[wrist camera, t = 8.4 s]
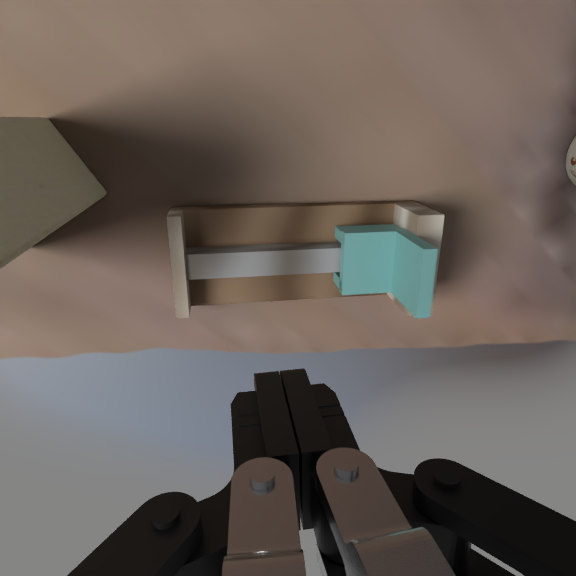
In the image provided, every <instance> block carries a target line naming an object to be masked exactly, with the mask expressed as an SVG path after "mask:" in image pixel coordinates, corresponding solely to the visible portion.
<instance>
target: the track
mask: <svg viewBox="0 0 576 576" xmlns="http://www.w3.org/2000/svg"><path fill="white" fill-rule="evenodd" d="M444 216H445V215H444V214H442V213H440V212H437V211H435V210H433V209H430V208H428V207H426V206H424V205H421V204H419V203H417V202H415V201H412V200H404V201H370V202H336V203H302V204H269V205H235V206H201V207H171V208H170V210H169V212H168V215H167V217H166V218H167V229H168V239H169V249H170V259H171V269H172V280H173V290H174V300H175V310H176V318H189V317H190V309H191V306H195V305H212V304H229V303H246V302H263V301H280V300H297V299H314V298H331V297H348V296H365V295H382V294H387V295H388V296H389V297H390V298H391V299H392V300H393V301H394V302H395V303H396V304H397V305H398V306H399V307H400V308H401V309H402V310H403V311H404V313H405V314H406V315H407V316H408V317H409V316H413V315H412V314H411V313H410V311H409V310H408V309H407V308H406V307H405V306H404V305H403V304H402V303H401V302H400V301H399V300H398V299H397V298H396V297H395V296H394V295H393V294H392V293H373V294H356V295H342V294H341V293H340V291H339V288H338V287H337V285H336V284H335V282H334V281H333V273H334V272H340V256H341V243H340V242H339V241H338V240H337V239H336V238H335V226H355V225H382V224H395V225H396V226H398V227H400V228H405V229H406V230H408V231H409V232H411V233H413V234H414V235H416V236H418V237H419V238H421V239H423V240H424V241H426V242H428V243H429V244H431V245H433V246H434V247H436V248H437V249H438V253H437V261H436V270H435V278H434V286H433V295H432V303H431V311H430V315H432V314H433V306H434V298H435V290H436V281H437V273H438V265H439V257H440V249H441V240H442V232H443V224H444Z"/></svg>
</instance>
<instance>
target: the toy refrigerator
mask: <svg viewBox="0 0 576 576" xmlns="http://www.w3.org/2000/svg"><path fill="white" fill-rule="evenodd" d="M105 195H106V190H105V189H104V188H103V186H102V185H101V184H100V183H99V181H98V180H97V179H96V178H95V176H94V175H93V174H92V173H91V171H90V170H89V169H88V168H87V166H86V165H85V164H84V163H83V161H82V160H81V159H80V158H79V156H78V155H77V154H76V153H75V151H74V150H73V149H72V147H71V146H70V145H69V144H68V143H67V141H66V140H65V139H64V138H63V136H62V135H61V134H60V133H59V131H58V130H57V129H56V128H55V126H54V125H53V124H52V123H51V121H50V120H49V119H47V118H41V117H0V269H1V268H2V267H4V266H5V265H6V264H8V263H9V262H11V261H12V260H14V259H15V258H16V257H18V256H19V255H21V254H22V253H24V252H25V251H27V250H28V249H30V248H31V247H32V246H34V245H35V244H37V243H38V242H40V241H41V240H42V239H44V238H45V237H47V236H48V235H49V234H51V233H52V232H54V231H55V230H57V229H58V228H59V227H61V226H62V225H64V224H65V223H67V222H68V221H70V220H71V219H72V218H74V217H75V216H77V215H78V214H80V213H81V212H83V211H84V210H85V209H87V208H88V207H90V206H91V205H93V204H94V203H96V202H97V201H98V200H100V199H101V198H103V197H104V196H105Z"/></svg>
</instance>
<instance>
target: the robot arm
mask: <svg viewBox="0 0 576 576" xmlns="http://www.w3.org/2000/svg"><path fill="white" fill-rule="evenodd" d="M254 386H255V391H248V392H239V393H237V395H236V396H235V398H234V400H233V401H232V403H231V416H232V433H233V434H232V435H233V454H234V473H233V476H232V479H231V480H230V482H229V483H228V484H227V486H226V487H225V488H224V489H222V490H221V491H220V492H218V493H217V494H215V495H213V496H211V497H209V498H206V499H204V500H201V501H199V502H197V501H196V500H195V499H194V498H193V497H191V496H190V495H188V494H185V493H181V492H168V493H164V494H160V495H158V496H155V497H153V498H151V499H150V500H148V501H147V502H145V503H144V504H143V505H142V506H141V507H139V509H137V510H136V511H135V512H134V513H133V514H132V515H131V516H130V517H129V518H128V519H127V520H126V521H125V522H124V523H123V524H122V525H120V526H119V527H118V528H117V529H116V530H115V531H114V532H113V533H112V534H111V535H110V536H109V537H108V538H107V539H106V540H104V542H102V543H101V544H100V545H99V546H98V547H97V548H96V549H95V550H94V551H93V552H92V553H91V554H90V555H89V556H87V557H86V558H85V559H84V560H83V561H82V562H81V563H80V564H79V565H78V566H77V567H76V568H75V569H74V570H73V571H72V572H71V573H69V574H68V576H306V570H305V561H304V554H303V550H302V549H301V545H300V536H299V530H300V517H301V522H302V527H303V530H304V529H311V528H314V531H315V536H316V540H317V560H318V564H319V567H320V570H321V573H322V576H515V575H514V574H512V573H510V572H509V571H507V570H505V569H504V568H502V567H500V566H499V565H497V564H496V563H494V562H492V561H490V560H489V559H487V558H485V557H484V556H482V555H481V554H479V553H478V552H476V551H474V550H473V549H471V543H472V544H474V545H476V546H477V547H479V548H480V549H482V550H484V551H485V552H487V553H489V554H490V555H492V556H494V557H495V558H497V559H499V560H500V561H502V562H504V563H505V564H507V565H509V566H510V567H512V568H514V569H515V570H517V571H519V572H520V573H522V574H523V575H524V576H576V521H574V520H572V519H570V518H568V517H566V516H564V515H562V514H560V513H558V512H555V511H554V510H552V509H550V508H548V507H546V506H544V505H542V504H540V503H538V502H536V501H534V500H532V499H530V498H528V497H526V496H524V495H522V494H520V493H518V492H515V491H513V490H512V489H510V488H508V487H506V486H504V485H501V484H499V483H497V482H495V481H493V480H491V479H489V478H487V477H485V476H483V475H481V474H479V473H477V472H475V471H473V470H471V469H469V468H467V467H465V466H463V465H461V464H459V463H457V462H454V461H451V460H447V459H429V460H426V461H423V462H422V463H420V464H419V465H418V466H417V467H416V469H415V471H414V475H412V474H404V473H396V472H390V471H386V470H383V469H380V468H378V467H377V466H376V465H375V463H374V461H373V460H372V459H371V458H370V457H369V456H368V455H366V454H365V453H363V452H362V451H360V449H359V447H358V445H357V442H356V440H355V438H354V435H353V433H352V431H351V428H350V426H349V424H348V422H347V419H346V417H345V416H344V412H343V410H342V407H340V403H339V400H338V398H337V396H336V393H335V392H334V391H333V390H331V389H330V388H329V387H328V386H326V385H325V384H314V385H310V382H309V379H308V376H307V373H306V371H305V369H295V370H284V371H280V375H279V372H278V371H276V372H267V373H255V374H254Z"/></svg>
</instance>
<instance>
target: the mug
mask: <svg viewBox="0 0 576 576" xmlns="http://www.w3.org/2000/svg"><path fill="white" fill-rule="evenodd" d="M566 170H567V174H568V176H569V178H570V180H571V181H572V183H573V184H574V185H576V136H575V138H574V139H573V141H572V143H571V145H570V147H569V149H568V152H567V157H566Z"/></svg>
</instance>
